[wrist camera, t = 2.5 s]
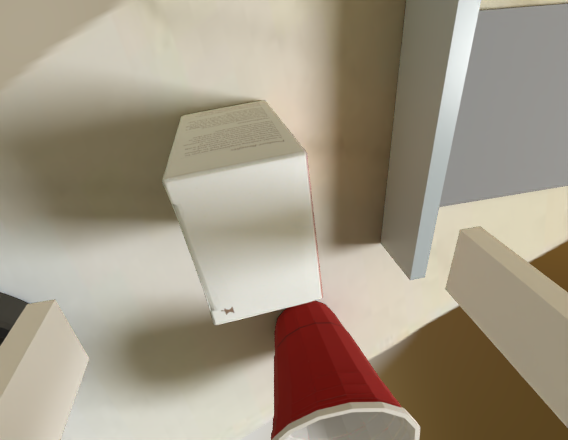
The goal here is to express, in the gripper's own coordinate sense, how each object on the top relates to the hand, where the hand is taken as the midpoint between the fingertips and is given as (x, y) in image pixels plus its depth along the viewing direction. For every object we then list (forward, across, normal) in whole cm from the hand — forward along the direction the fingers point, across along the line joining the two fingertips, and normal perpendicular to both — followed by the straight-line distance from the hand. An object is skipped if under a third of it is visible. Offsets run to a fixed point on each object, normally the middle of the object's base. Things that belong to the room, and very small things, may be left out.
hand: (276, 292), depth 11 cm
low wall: (+14, -12, 0) cm, 18 cm away
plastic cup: (+14, -4, +18) cm, 23 cm away
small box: (+14, 0, +1) cm, 14 cm away
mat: (+14, -22, 0) cm, 27 cm away
